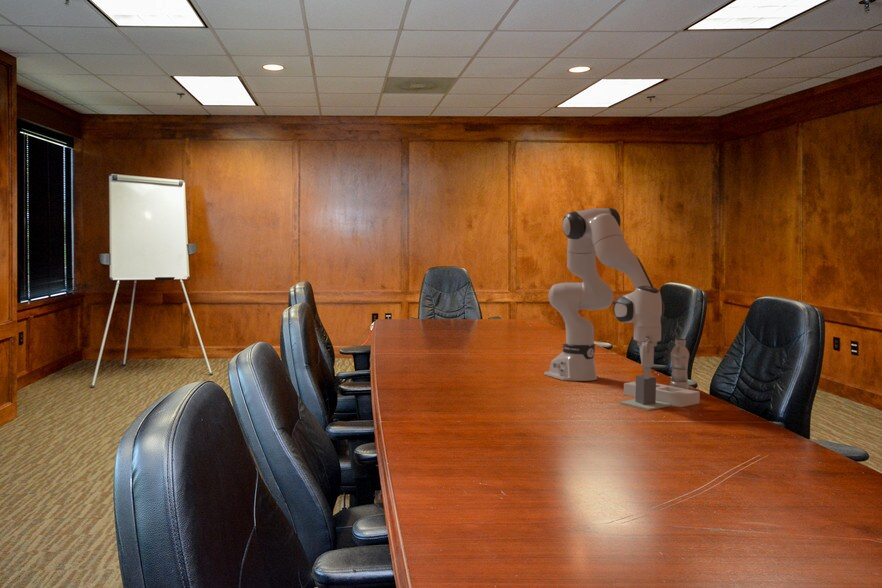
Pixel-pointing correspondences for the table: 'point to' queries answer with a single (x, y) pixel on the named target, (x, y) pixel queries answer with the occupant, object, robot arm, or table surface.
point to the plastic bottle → (679, 364)
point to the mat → (646, 407)
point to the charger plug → (645, 390)
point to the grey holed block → (668, 394)
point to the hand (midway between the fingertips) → (646, 376)
